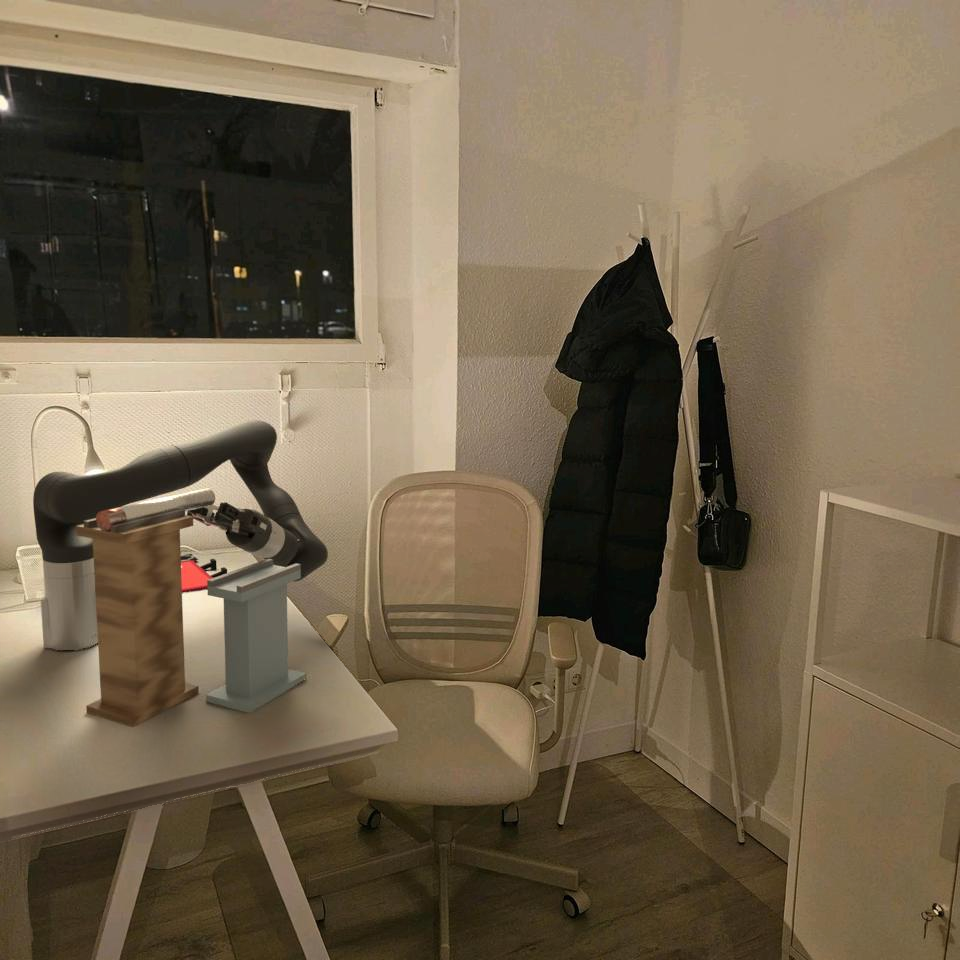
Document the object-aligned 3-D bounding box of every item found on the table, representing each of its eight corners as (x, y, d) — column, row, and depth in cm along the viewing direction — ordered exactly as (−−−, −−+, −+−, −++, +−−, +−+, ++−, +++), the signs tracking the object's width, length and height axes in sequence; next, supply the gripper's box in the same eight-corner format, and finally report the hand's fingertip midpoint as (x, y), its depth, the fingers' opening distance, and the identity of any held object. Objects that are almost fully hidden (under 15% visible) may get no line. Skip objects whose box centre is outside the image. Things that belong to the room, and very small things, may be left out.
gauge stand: (132, 726, 127) (123, 527, 122) (86, 712, 132) (75, 519, 126) (198, 692, 140) (192, 510, 134) (154, 680, 144) (147, 503, 139)
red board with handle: (198, 556, 223) (140, 564, 215) (198, 546, 223) (139, 554, 214) (235, 586, 199) (171, 598, 191) (235, 575, 198) (171, 586, 190)
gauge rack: (249, 713, 133) (246, 587, 129) (206, 701, 137) (202, 579, 133) (306, 679, 146) (305, 565, 143) (265, 669, 150) (263, 557, 146)
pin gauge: (105, 534, 124) (113, 520, 123) (93, 522, 124) (100, 507, 123) (210, 508, 143) (217, 495, 142) (199, 497, 144) (206, 484, 143)
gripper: (233, 510, 161) (178, 480, 147) (292, 519, 155) (241, 488, 141) (220, 547, 159) (163, 519, 145) (280, 557, 153) (226, 529, 139)
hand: (201, 504), depth 143 cm, fingers open, 8 cm apart
